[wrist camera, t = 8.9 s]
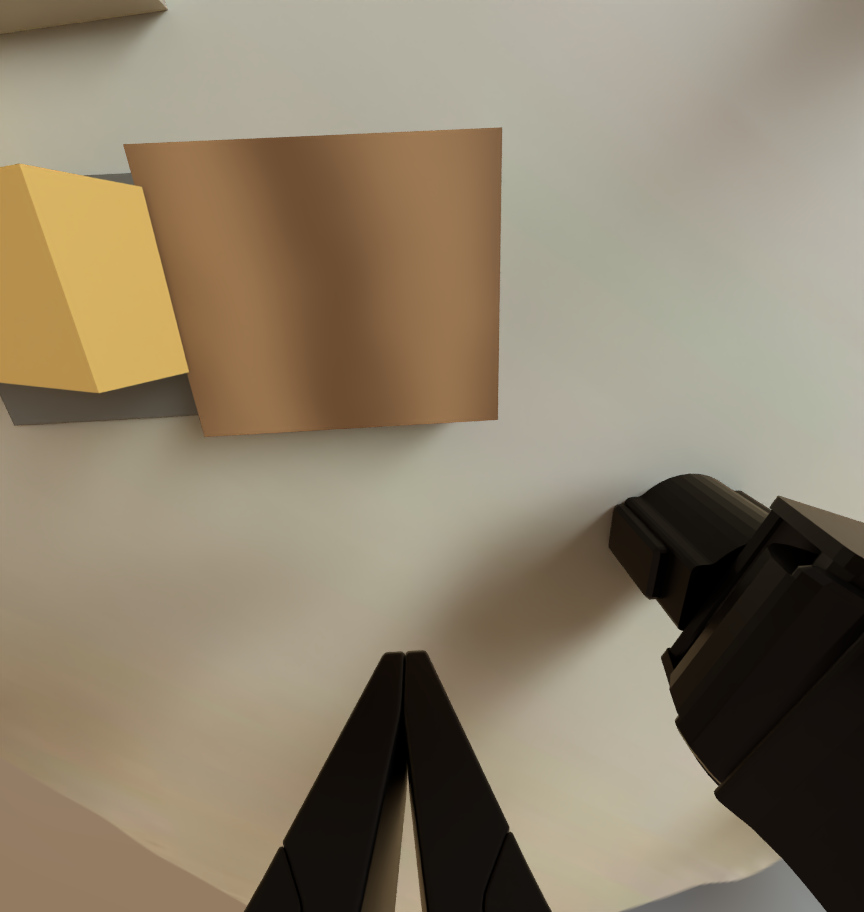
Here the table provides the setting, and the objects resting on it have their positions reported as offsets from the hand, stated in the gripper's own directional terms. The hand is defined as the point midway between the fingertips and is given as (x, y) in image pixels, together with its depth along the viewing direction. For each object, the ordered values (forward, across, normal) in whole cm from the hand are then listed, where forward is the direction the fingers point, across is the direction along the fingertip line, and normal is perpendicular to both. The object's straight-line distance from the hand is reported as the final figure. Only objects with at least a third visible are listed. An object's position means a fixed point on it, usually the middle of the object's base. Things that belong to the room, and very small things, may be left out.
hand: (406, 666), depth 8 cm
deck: (+12, +2, -7) cm, 14 cm away
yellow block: (+10, +11, -7) cm, 17 cm away
